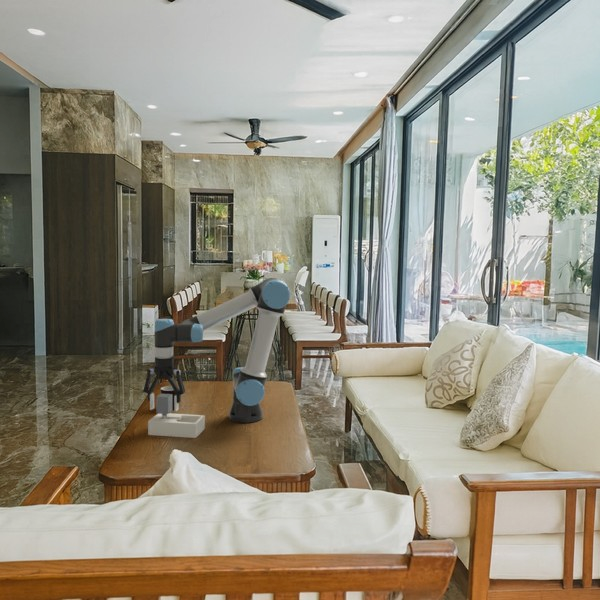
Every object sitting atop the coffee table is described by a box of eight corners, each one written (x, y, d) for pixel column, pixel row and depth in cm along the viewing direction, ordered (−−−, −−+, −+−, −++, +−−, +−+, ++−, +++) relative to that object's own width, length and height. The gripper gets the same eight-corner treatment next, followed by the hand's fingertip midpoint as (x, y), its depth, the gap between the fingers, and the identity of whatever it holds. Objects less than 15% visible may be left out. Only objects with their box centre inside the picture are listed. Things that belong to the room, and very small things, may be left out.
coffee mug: (174, 412, 257) (174, 391, 257) (157, 410, 259) (157, 389, 258) (184, 405, 269) (184, 385, 268) (168, 404, 270) (168, 384, 270)
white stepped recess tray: (204, 428, 235) (204, 415, 235) (195, 438, 223) (195, 424, 223) (159, 425, 238) (159, 412, 237) (148, 434, 226) (148, 421, 225)
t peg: (175, 426, 234) (175, 393, 233) (169, 431, 227) (169, 398, 226) (159, 425, 235) (159, 392, 234) (153, 430, 228) (153, 397, 227)
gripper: (193, 356, 231) (193, 408, 233) (141, 353, 234) (142, 405, 236) (187, 359, 223) (187, 413, 225) (134, 357, 226) (134, 410, 228)
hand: (164, 409), depth 230 cm, fingers open, 10 cm apart
